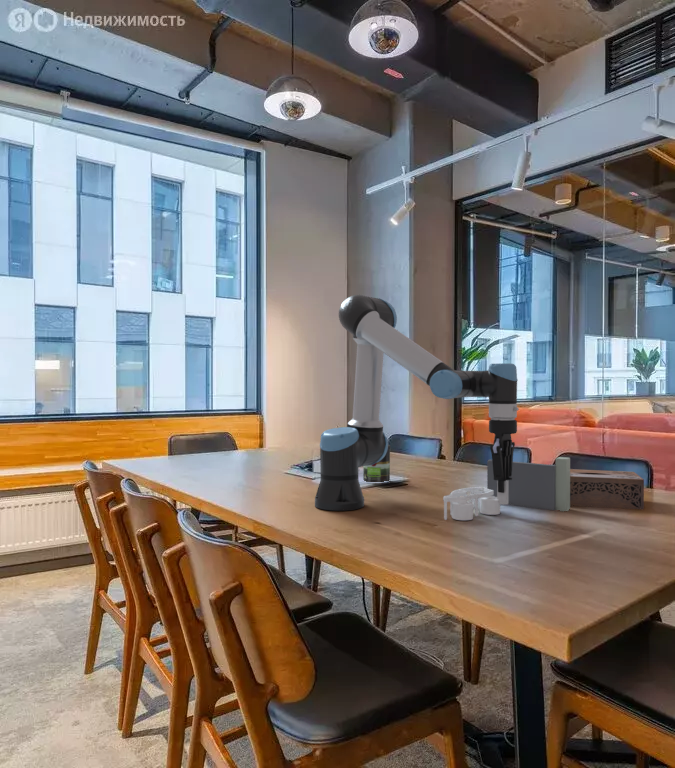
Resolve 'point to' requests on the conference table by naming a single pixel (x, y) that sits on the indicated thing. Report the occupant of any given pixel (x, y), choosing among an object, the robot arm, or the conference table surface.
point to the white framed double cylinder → (471, 503)
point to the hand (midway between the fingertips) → (502, 503)
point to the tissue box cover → (606, 489)
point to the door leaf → (537, 484)
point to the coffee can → (378, 470)
